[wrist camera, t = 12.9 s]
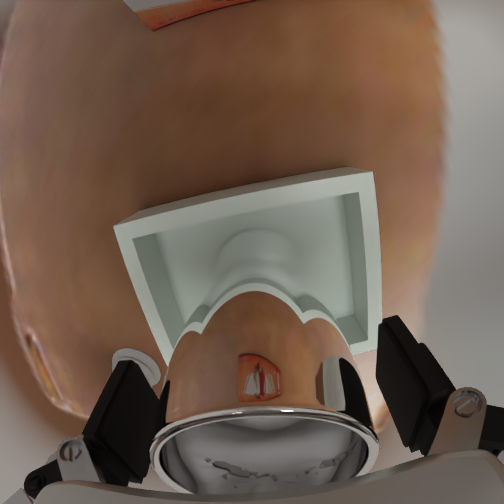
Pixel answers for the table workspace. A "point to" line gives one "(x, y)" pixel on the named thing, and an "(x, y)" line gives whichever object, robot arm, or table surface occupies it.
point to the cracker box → (173, 9)
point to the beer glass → (261, 383)
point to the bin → (271, 218)
